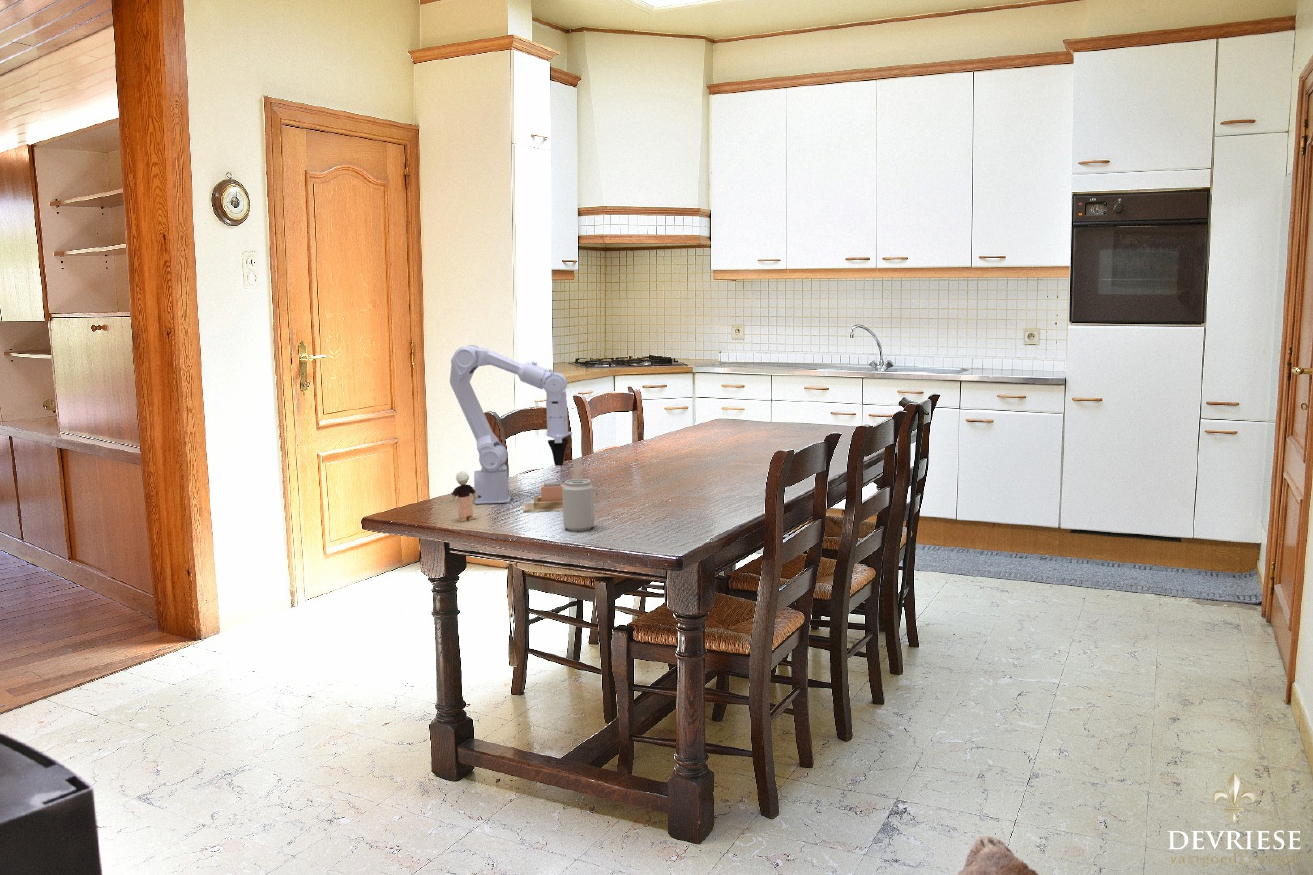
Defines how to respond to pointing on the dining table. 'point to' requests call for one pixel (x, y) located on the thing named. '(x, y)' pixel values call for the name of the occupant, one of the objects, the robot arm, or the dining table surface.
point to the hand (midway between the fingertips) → (558, 465)
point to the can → (578, 505)
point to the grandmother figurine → (464, 497)
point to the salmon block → (551, 492)
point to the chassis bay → (543, 506)
